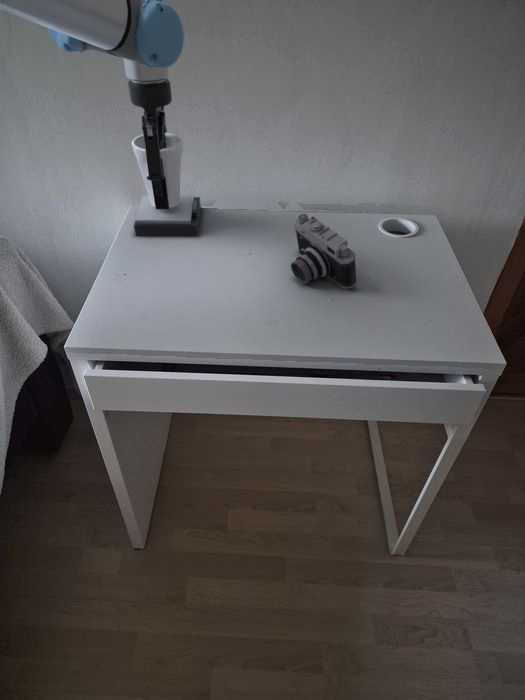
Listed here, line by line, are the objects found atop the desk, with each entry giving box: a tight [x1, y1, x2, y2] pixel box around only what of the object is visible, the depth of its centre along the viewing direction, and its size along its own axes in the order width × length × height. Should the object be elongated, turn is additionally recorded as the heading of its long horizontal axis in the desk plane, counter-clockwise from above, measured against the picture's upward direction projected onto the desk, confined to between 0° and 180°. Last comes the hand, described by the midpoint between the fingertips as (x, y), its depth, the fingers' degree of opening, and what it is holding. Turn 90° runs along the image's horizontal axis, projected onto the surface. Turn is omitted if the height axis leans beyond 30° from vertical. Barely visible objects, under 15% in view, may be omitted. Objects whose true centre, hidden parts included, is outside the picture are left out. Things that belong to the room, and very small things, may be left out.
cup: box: [131, 132, 184, 208], centre depth 92 cm, size 10×10×13 cm
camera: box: [290, 213, 357, 290], centre depth 83 cm, size 16×9×10 cm, turn 34°
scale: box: [133, 194, 202, 237], centre depth 98 cm, size 13×13×4 cm
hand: (164, 198), depth 96 cm, fingers closed on cup, 8 cm apart
